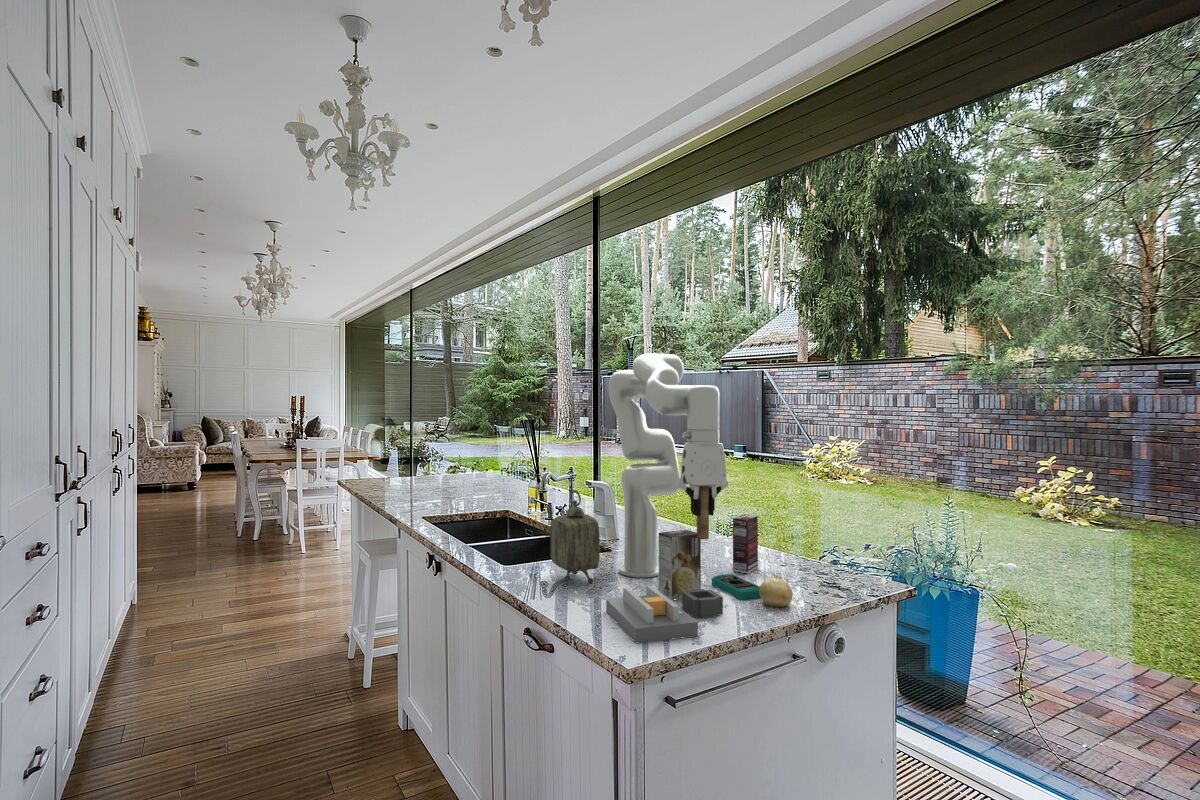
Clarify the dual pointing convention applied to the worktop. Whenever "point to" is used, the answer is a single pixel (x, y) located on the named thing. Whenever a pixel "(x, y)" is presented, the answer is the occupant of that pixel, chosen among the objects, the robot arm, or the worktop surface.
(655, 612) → the breaker handle
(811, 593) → the worktop surface
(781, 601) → the onion
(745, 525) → the supplement box
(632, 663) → the worktop surface
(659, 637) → the grey slider track base
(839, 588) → the worktop surface
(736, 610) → the worktop surface
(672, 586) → the coffee box
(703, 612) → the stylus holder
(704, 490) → the stylus
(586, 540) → the tabletop clock
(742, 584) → the digital multimeter
